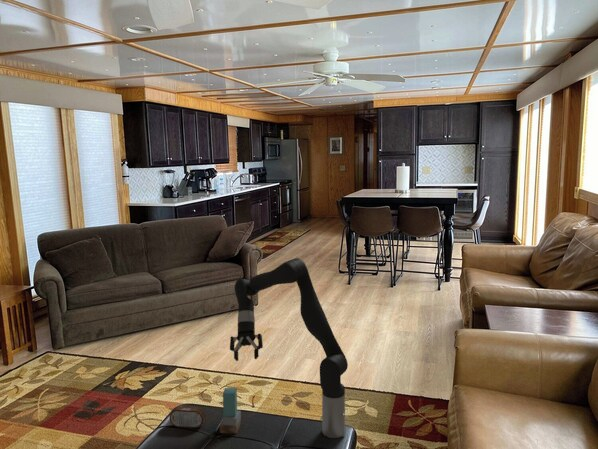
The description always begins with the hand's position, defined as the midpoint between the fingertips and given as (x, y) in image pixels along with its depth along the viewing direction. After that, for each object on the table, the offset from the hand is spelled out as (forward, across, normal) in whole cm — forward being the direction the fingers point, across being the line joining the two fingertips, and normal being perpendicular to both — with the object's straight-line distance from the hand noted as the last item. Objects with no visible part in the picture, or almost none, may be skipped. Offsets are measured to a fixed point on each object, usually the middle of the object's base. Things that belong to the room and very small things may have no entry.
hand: (246, 359), depth 197 cm
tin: (+25, -28, +5) cm, 37 cm away
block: (+21, -8, +4) cm, 22 cm away
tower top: (+24, -8, +5) cm, 26 cm away
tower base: (+27, -9, +7) cm, 29 cm away
